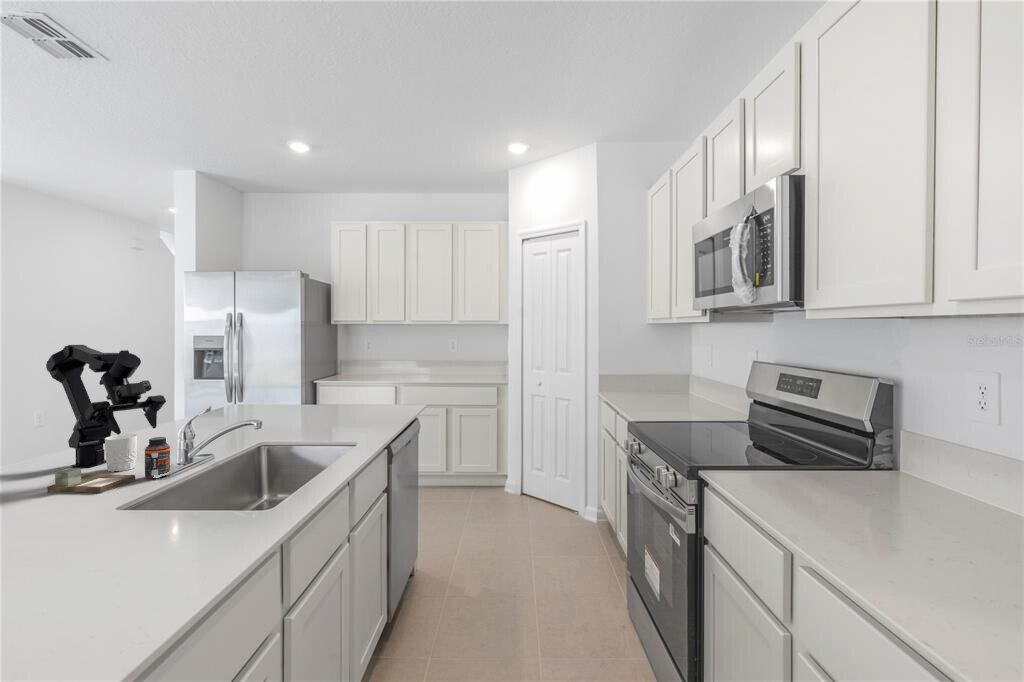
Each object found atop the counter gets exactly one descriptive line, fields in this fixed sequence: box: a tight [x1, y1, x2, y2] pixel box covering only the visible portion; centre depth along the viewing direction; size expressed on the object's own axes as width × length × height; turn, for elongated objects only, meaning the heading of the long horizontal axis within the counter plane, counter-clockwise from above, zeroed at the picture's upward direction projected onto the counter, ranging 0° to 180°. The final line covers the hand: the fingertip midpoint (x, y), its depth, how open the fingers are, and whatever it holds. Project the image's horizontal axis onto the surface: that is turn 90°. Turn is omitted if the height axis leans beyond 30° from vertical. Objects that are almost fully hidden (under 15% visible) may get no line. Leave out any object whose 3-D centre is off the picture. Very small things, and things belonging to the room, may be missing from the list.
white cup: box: [104, 433, 139, 473], centre depth 146 cm, size 8×8×10 cm
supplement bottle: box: [144, 436, 171, 480], centre depth 139 cm, size 6×6×11 cm
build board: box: [46, 467, 136, 494], centre depth 130 cm, size 14×11×5 cm
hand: (137, 430), depth 139 cm, fingers open, 9 cm apart
